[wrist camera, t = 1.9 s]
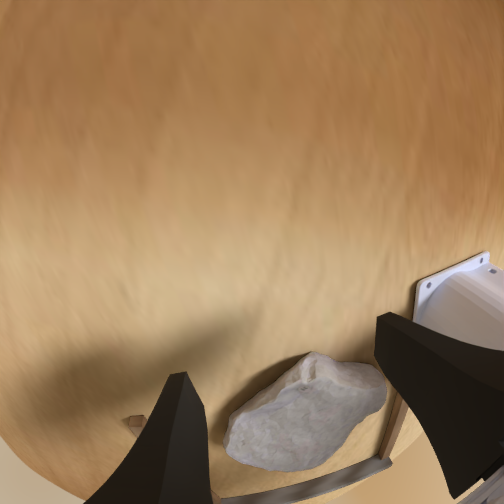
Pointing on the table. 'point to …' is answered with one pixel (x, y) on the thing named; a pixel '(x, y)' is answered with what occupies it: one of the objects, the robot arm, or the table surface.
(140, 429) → the u-shaped frame
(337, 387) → the stone block
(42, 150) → the table surface
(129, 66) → the table surface
